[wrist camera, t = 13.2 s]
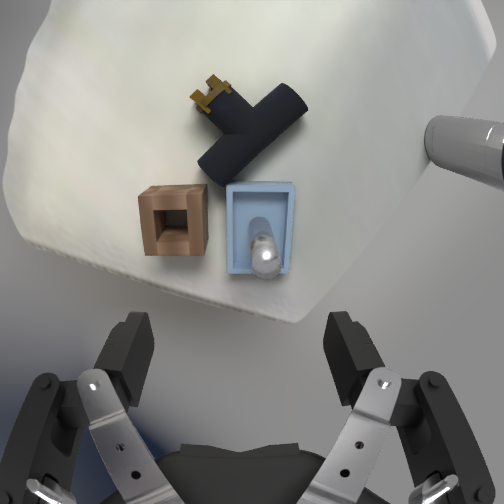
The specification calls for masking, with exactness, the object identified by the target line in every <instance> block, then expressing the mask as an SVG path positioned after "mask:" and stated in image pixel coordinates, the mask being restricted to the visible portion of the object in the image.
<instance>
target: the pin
mask: <svg viewBox="0 0 504 504" xmlns="http://www.w3.org/2000/svg"><path fill="white" fill-rule="evenodd" d="M248 231H249V242H250V253H251V264H252V271H253V273H254V274H255V275H256V276H257V277H258V278H261V279H272V278H274V277H276V276H277V275H278V274H279V273H280V271H281V269H282V262H281V259H280V256H279V252H278V249H277V246H276V242H275V239H274V236H273V232H272V229H271V226H270V223H269V221H268V220H267V219H266V218H264V217H255V218H253V219H252V220H251V221H250V222H249V225H248Z"/></svg>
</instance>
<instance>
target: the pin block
mask: <svg viewBox="0 0 504 504" xmlns="http://www.w3.org/2000/svg"><path fill="white" fill-rule="evenodd" d="M138 203H139V213H140V222H141V230H142V238H143V245H144V252H145V256H204V254H205V250H206V246H207V242H208V212H207V184H194V185H165V186H151V187H149V188H148V189H147V190H146V191H144V192H143V193H142V194H140V195H139V196H138ZM183 209H187V221H188V226H176V227H167V224H166V212H165V210H183Z"/></svg>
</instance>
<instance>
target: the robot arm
mask: <svg viewBox="0 0 504 504" xmlns="http://www.w3.org/2000/svg"><path fill="white" fill-rule="evenodd" d="M425 146H426V150H427V154H428V156H429V158H430V159H431V160H432V162H433V163H434V164H435V165H437V166H439V167H441V168H444V169H447V170H450V171H453V172H455V173H458V174H461V175H464V176H466V177H469V178H472V179H474V180H477V181H479V182H482V183H484V184H487V185H489V186H492V187H494V188H496V189H499V190H501V191H504V123H500V122H494V121H488V120H481V119H473V118H464V117H455V116H441V115H440V116H437V117H435V118H433V119H432V120H431V121H430V123H429V124H428V126H427V129H426V133H425ZM323 348H324V352H325V355H326V358H327V361H328V364H329V367H330V370H331V373H332V376H333V379H334V382H335V386H336V389H337V392H338V395H339V398H340V401H341V404H342V406H347V405H351V407H352V412H351V414H350V416H349V418H348V419H347V421H346V423H345V425H344V427H343V429H342V431H341V433H340V434H339V436H338V438H337V440H336V442H335V444H334V445H333V447H332V449H331V450H330V452H329V454H328V455H327V457H326V458H324V457H322V456H320V455H318V454H315V453H312V452H309V451H304V450H299V446H298V443H292V444H280V445H268V446H265V447H261V448H257V449H253V450H249V451H245V452H234V451H229V450H225V449H221V448H216V447H212V446H207V445H206V446H205V445H190V444H181V448H180V451H175V452H171V453H168V454H165V455H162V456H160V457H159V458H157V459H154V457H153V456H152V454H151V453H150V451H149V450H148V448H147V446H146V445H145V443H144V442H143V440H142V438H141V437H140V435H139V433H138V432H137V430H136V428H135V426H134V424H133V423H132V421H131V419H130V417H129V415H128V414H127V412H128V408H129V406H133V407H138V404H139V400H140V397H141V393H142V389H143V386H144V382H145V379H146V375H147V372H148V368H149V365H150V361H151V358H152V355H153V351H154V337H153V333H152V329H151V325H150V320H149V316H148V314H147V313H146V312H130V313H129V315H128V317H127V319H126V321H125V322H119V323H118V324H117V325H116V326H115V327H114V328H113V329H112V330H111V332H110V334H109V336H108V339H107V340H106V342H105V345H104V347H103V349H102V351H101V353H100V355H99V357H98V359H97V361H96V363H95V366H94V368H93V369H90V370H87V371H85V372H84V373H82V374H81V375H80V376H79V378H78V380H73V381H62V382H60V380H59V379H58V377H57V376H56V375H55V374H53V373H43V374H41V375H39V376H38V377H37V378H36V379H35V380H34V382H33V383H32V386H31V388H30V390H29V392H28V394H27V396H26V398H25V401H24V403H23V405H22V407H21V410H20V412H19V415H18V417H17V419H16V422H15V424H14V427H13V430H12V432H11V434H10V437H9V440H8V442H7V445H6V448H5V451H4V454H3V457H2V460H1V463H0V504H76V500H75V498H74V496H73V495H72V494H71V493H70V487H71V482H72V477H73V472H74V468H75V463H76V459H77V455H78V450H79V447H80V443H81V439H82V435H83V431H84V428H89V429H90V432H91V434H92V437H93V439H94V441H95V444H96V446H97V448H98V451H99V453H100V455H101V457H102V459H103V461H104V463H105V466H106V468H107V469H108V471H109V473H110V475H111V477H112V479H113V481H114V483H115V485H116V486H117V488H118V489H117V490H116V491H115V492H114V493H112V494H111V495H110V496H108V497H107V498H106V499H104V500H103V501H102V502H100V503H99V504H390V503H388V502H387V501H385V500H384V499H382V498H381V497H379V496H378V495H376V494H375V493H373V492H372V491H370V490H369V489H367V488H366V487H364V486H365V484H366V482H367V480H368V478H369V476H370V474H371V472H372V470H373V468H374V465H375V463H376V461H377V459H378V456H379V454H380V452H381V449H382V447H383V444H384V442H385V439H386V437H387V434H388V431H389V429H390V426H396V427H397V430H398V433H399V437H400V439H401V443H402V446H403V449H404V452H405V455H406V459H407V462H408V465H409V469H410V472H411V476H412V479H413V483H414V487H415V488H414V489H413V491H412V492H411V494H410V496H409V504H493V501H494V499H495V487H494V484H493V482H492V479H491V476H490V473H489V470H488V468H487V466H486V463H485V460H484V458H483V455H482V453H481V450H480V448H479V446H478V443H477V441H476V439H475V437H474V435H473V432H472V430H471V428H470V426H469V423H468V422H467V419H466V417H465V415H464V413H463V411H462V409H461V407H460V405H459V403H458V401H457V399H456V397H455V395H454V393H453V391H452V390H451V388H450V386H449V384H448V382H447V381H446V379H445V378H444V376H442V375H441V374H440V373H437V372H434V371H428V372H425V373H423V374H422V375H421V377H420V378H419V380H413V379H402V378H400V376H399V375H398V374H397V373H396V372H395V371H394V370H392V369H390V368H386V367H385V365H384V363H383V361H382V359H381V357H380V355H379V353H378V351H377V349H376V347H375V346H374V344H373V342H372V340H371V338H370V336H369V334H368V332H367V330H366V329H365V328H364V327H363V326H362V325H361V324H360V323H359V322H352V320H351V318H350V316H349V314H348V313H347V312H346V311H341V312H330V313H329V316H328V320H327V325H326V329H325V334H324V338H323Z"/></svg>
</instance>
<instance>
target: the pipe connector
mask: <svg viewBox="0 0 504 504" xmlns="http://www.w3.org/2000/svg"><path fill="white" fill-rule="evenodd" d="M206 83H207V84H208V86H209V87H210V88H211V89H213V90H212V91H211V92H210V93H209V94H208V95H207V96H205V95H203V94H202V93H201V92H200V91H199V90H198V89H197V90H196V91H195V92H194V93H193V94H192V95H191V96H190V98H191V99H192V100H194V101H195V102H196V103H197V104H198V106H197V108H196V109H197V110H198V111H199V112H200V113H201V114H202V113H203V114H204V115H205V116H206V117H207V118H208V119H210V120H211V121H212V122H213V123H214V124H215V125H216V126H217V127H218V128H219V129H220V130H221V131H222V132H223V133H224V135H223V136H222V137H221V138H220V139H219V140H218V141H217V142H216V143H215V144H214V145H213V146H212V147H211V148H210V149H209V150H208V151H207V152H206V153H205V154H204V155H203V156H202V157H201V158H200V159H199V160H198V161H197V162H198V164H199V166H200V167H201V169H202V170H203V171H204V172H205V173H206V174H207V175H208V176H209V177H210V178H211V179H212V180H213V181H214V182H216V183H217V184H218V185H220V186H222V187H225V186H226V185H227V184H228V183H229V182H230V181H231V180H232V179H233V178H234V177H235V176H236V175H237V174H238V173H239V172H240V171H241V170H242V169H243V168H244V167H245V166H247V165H248V164H249V163H250V162H251V161H252V160H253V159H254V158H255V157H256V156H257V155H258V154H259V153H260V152H262V151H263V150H264V149H265V148H266V147H267V146H268V145H269V144H270V143H271V142H273V141H274V140H275V139H276V138H277V137H278V136H279V135H280V134H282V133H283V132H284V131H285V130H286V129H287V128H288V127H289V126H291V125H292V124H293V123H294V122H295V121H296V120H298V119H299V118H300V117H301V116H302V115H303V114H304V113H306V112H307V111H308V107H307V105H306V104H305V102H304V101H303V100H302V98H301V97H300V96H299V95H298V94H297V93H296V92H295V91H294V90H293V89H292V88H290V87H289V86H288V85H286V84H284V83H281V84H280V85H279V86H277V87H276V88H275V89H274V90H273V91H271V92H270V93H269V94H268V95H267V96H266V97H264V98H263V99H262V100H261V101H260V102H259V103H258V104H256V105H255V106H254V107H252V106H251V105H250V104H249V103H248V102H247V101H246V100H245V99H244V98H243V97H242V96H241V95H239V94H238V93H237V92H236V91H235V90H234V89H233V88H232V87H231V84H229V83H228V82H227V81H224V82H222V81H221V80H219V79H218V78H217V77H216V76H215V75H214V74H213V75H212V76H211V77H210V78H209V79H208V80H207V81H206Z"/></svg>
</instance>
